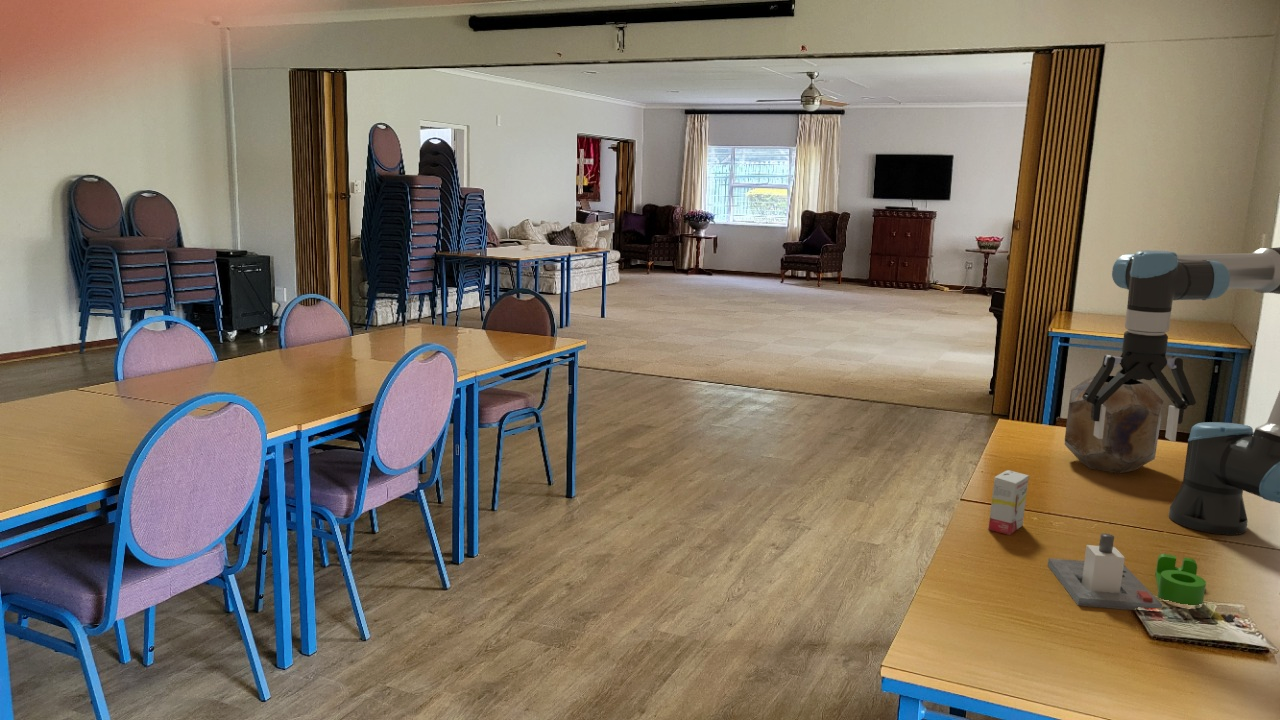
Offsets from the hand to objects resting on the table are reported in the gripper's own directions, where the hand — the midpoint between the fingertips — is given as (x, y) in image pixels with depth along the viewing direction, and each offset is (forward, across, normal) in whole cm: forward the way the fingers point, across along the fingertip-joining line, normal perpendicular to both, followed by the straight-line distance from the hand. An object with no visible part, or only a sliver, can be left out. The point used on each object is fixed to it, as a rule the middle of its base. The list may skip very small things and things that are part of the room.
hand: (1133, 438), depth 185 cm
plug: (+25, +10, +18) cm, 32 cm away
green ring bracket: (+26, -4, +15) cm, 30 cm away
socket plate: (+25, +9, +16) cm, 31 cm away
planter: (+27, -22, -68) cm, 76 cm away
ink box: (+25, +19, -14) cm, 34 cm away
